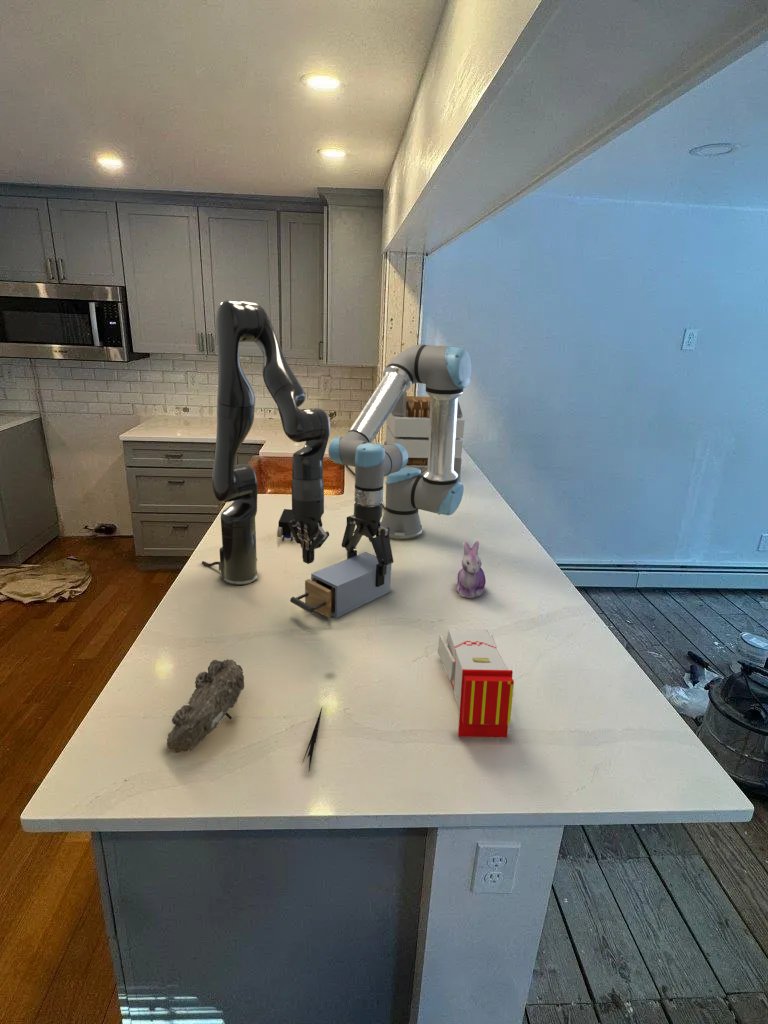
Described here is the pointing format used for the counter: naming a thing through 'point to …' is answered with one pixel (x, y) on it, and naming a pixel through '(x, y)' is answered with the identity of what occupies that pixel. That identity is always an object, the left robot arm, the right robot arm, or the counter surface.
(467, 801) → the counter surface
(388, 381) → the right robot arm
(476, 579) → the figurine
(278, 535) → the figurine character
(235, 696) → the fossil
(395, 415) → the white slatted crate
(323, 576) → the cabinet
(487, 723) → the toy
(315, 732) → the feather
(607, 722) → the counter surface
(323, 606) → the drawer
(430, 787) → the counter surface
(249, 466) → the left robot arm
